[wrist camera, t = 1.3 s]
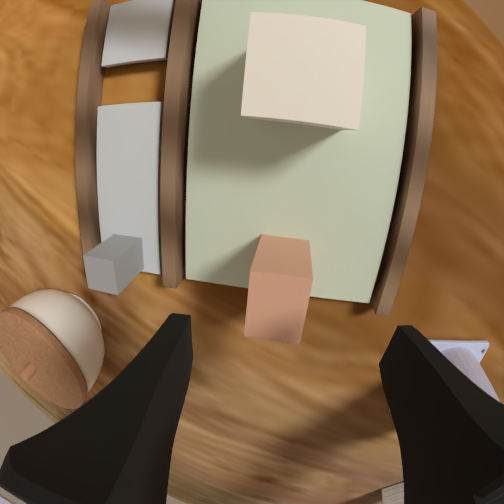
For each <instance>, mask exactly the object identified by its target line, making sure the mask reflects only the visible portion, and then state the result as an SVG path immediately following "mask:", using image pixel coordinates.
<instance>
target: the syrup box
mask: <svg viewBox="0 0 504 504" xmlns="http://www.w3.org/2000/svg"><path fill="white" fill-rule="evenodd" d="M381 490H382V504H404V482H401V483H398V484H395V485H392V486H390V487H387V488H383V489H381Z"/></svg>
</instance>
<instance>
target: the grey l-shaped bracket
mask: <svg viewBox="0 0 504 504" xmlns="http://www.w3.org/2000/svg"><path fill="white" fill-rule="evenodd" d="M163 106H164V102H143V103H129V104H117V105H107V106H98V114H97V192H98V209H99V223H100V234H101V243H100V244H99V245H97V246H96V247H94V248H93V249H92V250H90V251H89V252H87V253H86V254H84V255H83V259H84V265H85V271H86V277H87V283H88V288H89V289H93V290H97V291H101V292H105V293H110V294H114V295H119V294H120V293H121V292H122V290H123V289H124V288H125V287H126V286H127V285H128V284H129V283H130V282H131V281H132V280H133V279H134V278H135V277H136V276H137V275H138V274H139V273H140V272H141V271H142V272H148V273H154V274H159V275H160V274H161V273H162V254H161V217H160V179H161V143H162V122H163Z"/></svg>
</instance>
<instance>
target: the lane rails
mask: <svg viewBox="0 0 504 504" xmlns="http://www.w3.org/2000/svg"><path fill="white" fill-rule="evenodd" d="M200 2H201V0H133V1H128V2H124V3H120V4H116V5H112V4H110V3H108V2H106V1H104V0H97V1H94V2H91V3H90V7H89V12H88V17H87V22H86V27H85V33H84V39H83V45H82V52H81V60H80V68H79V78H78V89H77V103H76V125H75V167H76V190H77V204H78V216H79V226H80V235H81V243H82V250H83V255H84V254H86V253H87V252H89V251H90V250H92V249H93V248H94V247H96V246H97V245H99V244H100V243H101V234H100V223H99V209H98V192H97V114H98V106H101V100H102V87H103V76H104V67H107V68H108V67H114V66H120V65H127V64H135V63H143V62H152V61H163V60H168V61H167V71H166V82H165V93H164V106H163V122H162V143H161V179H160V217H161V254H162V275H163V286H164V287H170V288H177V287H178V285H179V284H180V282H181V281H182V280H183V278H184V199H185V167H186V145H187V128H188V113H189V99H190V88H191V77H192V66H193V57H194V48H195V39H196V31H197V23H198V16H199V9H200ZM412 17H413V59H412V82H411V96H410V108H409V118H408V128H407V136H406V144H405V151H404V158H403V164H402V171H401V177H400V182H399V188H398V193H397V199H396V204H395V209H394V213H393V218H392V223H391V227H390V232H389V236H388V240H387V244H386V248H385V252H384V256H383V260H382V264H381V268H380V271H379V275H378V279H377V282H376V286H375V289H374V292H373V296H372V299H371V304H372V307H373V309H374V312H375V315H379V316H389V313H390V310H391V308H392V305H393V302H394V299H395V296H396V293H397V290H398V286H399V283H400V280H401V277H402V274H403V270H404V267H405V263H406V260H407V256H408V253H409V249H410V245H411V241H412V238H413V234H414V230H415V225H416V221H417V217H418V212H419V208H420V203H421V198H422V193H423V188H424V183H425V177H426V172H427V166H428V159H429V153H430V146H431V138H432V129H433V120H434V110H435V97H436V78H437V25H436V12H435V11H432V10H430V9H427V8H424V7H421V8H420V9H419V10H418V11H416V12H415V13H414V14H413V15H412Z"/></svg>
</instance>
